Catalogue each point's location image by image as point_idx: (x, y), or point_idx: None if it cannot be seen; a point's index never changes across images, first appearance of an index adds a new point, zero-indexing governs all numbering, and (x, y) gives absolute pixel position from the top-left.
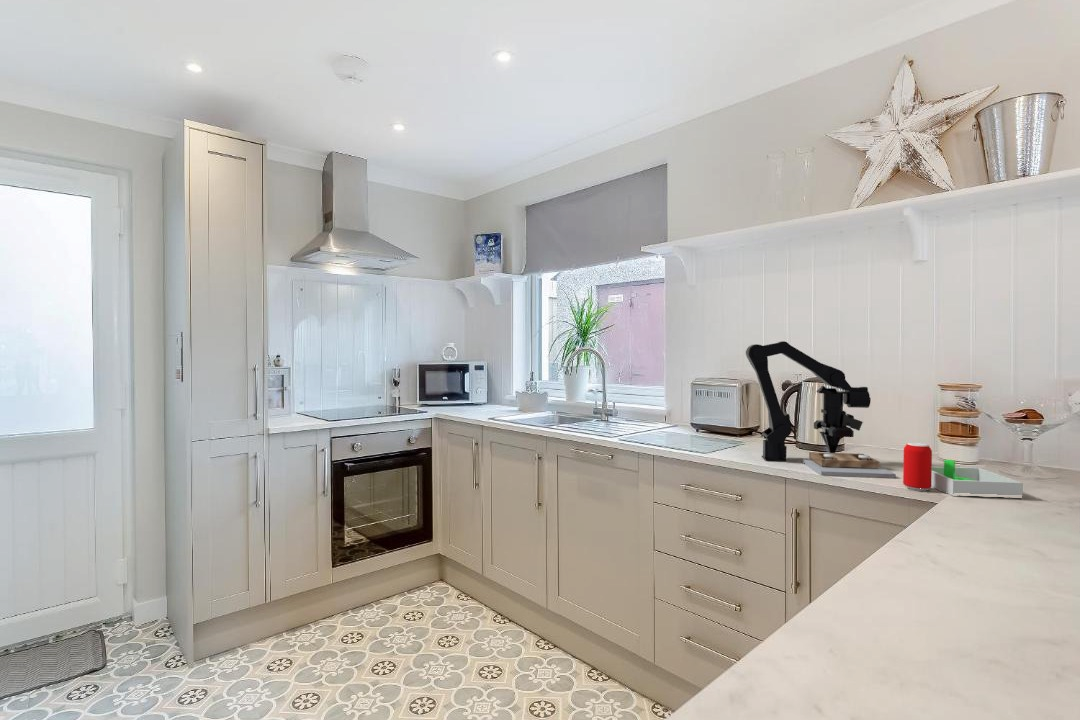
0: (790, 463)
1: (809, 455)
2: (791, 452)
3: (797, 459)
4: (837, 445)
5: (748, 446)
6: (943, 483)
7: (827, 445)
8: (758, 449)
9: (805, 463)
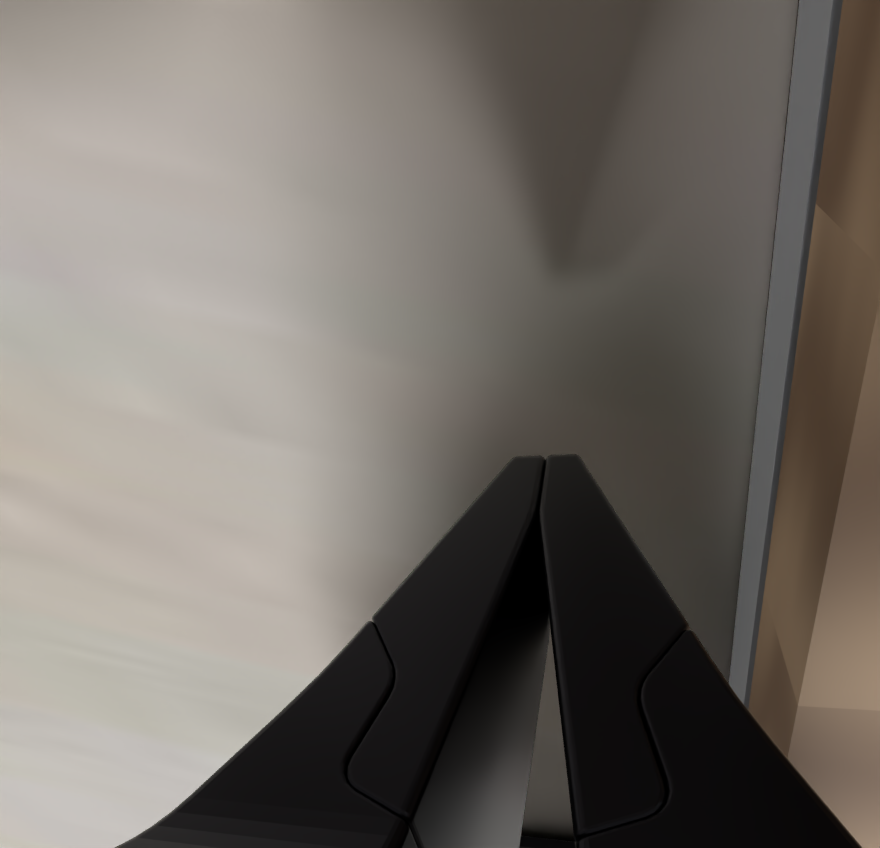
0: None
1: None
2: (49, 670)
3: None
4: (687, 631)
5: (4, 844)
6: None
7: (530, 755)
8: (91, 832)
9: None
